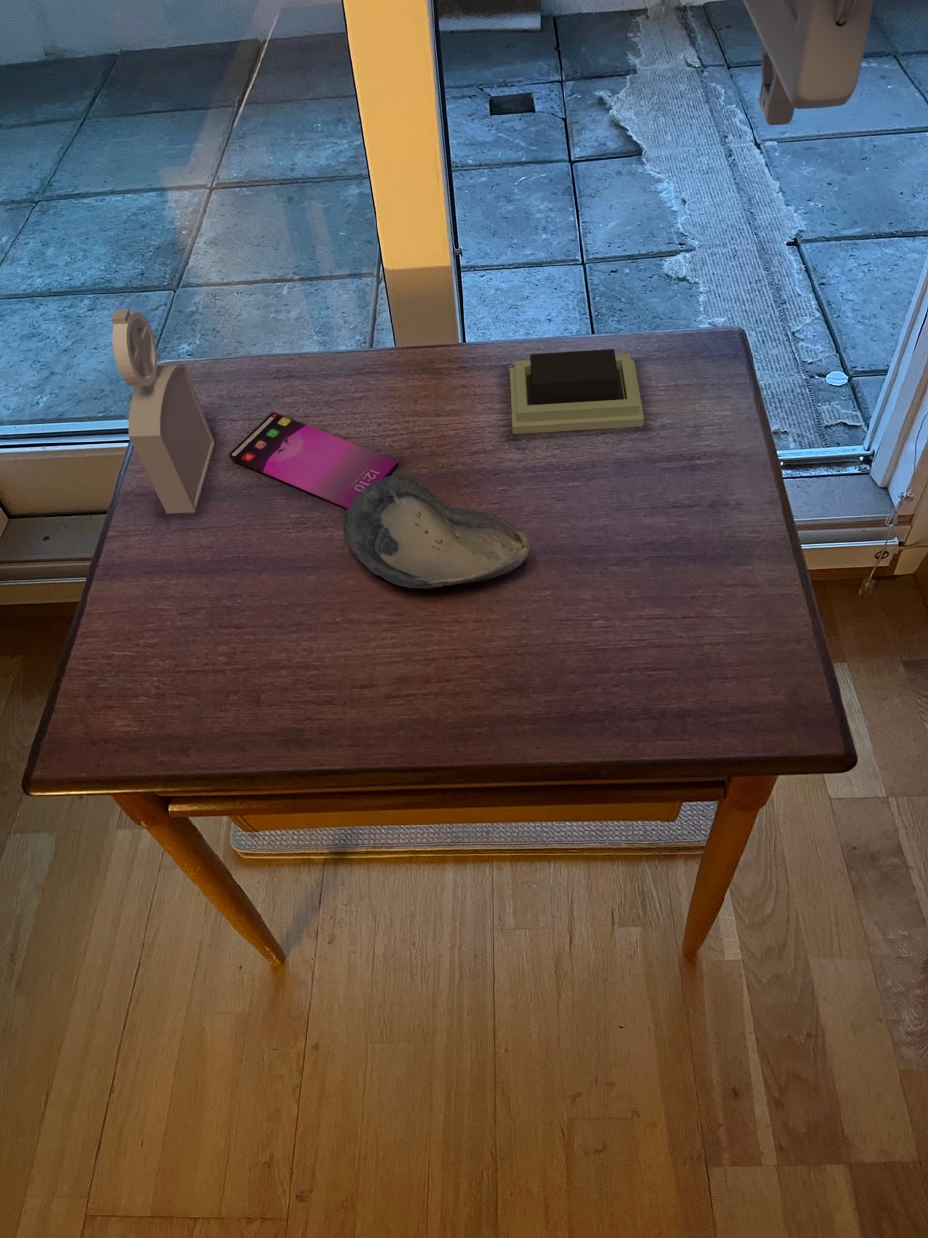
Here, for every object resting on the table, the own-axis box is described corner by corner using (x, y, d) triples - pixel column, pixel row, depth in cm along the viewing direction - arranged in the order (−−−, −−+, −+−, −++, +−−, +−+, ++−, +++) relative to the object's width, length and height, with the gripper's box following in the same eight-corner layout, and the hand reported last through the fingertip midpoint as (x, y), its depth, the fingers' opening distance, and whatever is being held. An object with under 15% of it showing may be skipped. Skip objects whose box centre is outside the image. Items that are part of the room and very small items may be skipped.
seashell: (515, 492, 83) (513, 451, 79) (535, 600, 75) (534, 560, 71) (347, 513, 83) (337, 473, 79) (350, 623, 75) (339, 584, 71)
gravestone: (215, 442, 90) (150, 279, 76) (195, 512, 84) (121, 350, 70) (188, 443, 90) (118, 280, 76) (166, 513, 85) (87, 351, 70)
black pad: (612, 373, 90) (614, 348, 87) (617, 403, 87) (618, 377, 85) (530, 379, 90) (530, 353, 88) (532, 408, 88) (532, 383, 85)
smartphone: (276, 417, 91) (273, 410, 91) (400, 463, 86) (399, 456, 85) (229, 462, 88) (227, 455, 87) (356, 514, 82) (354, 507, 82)
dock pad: (633, 367, 92) (634, 349, 90) (643, 426, 87) (645, 408, 85) (509, 375, 93) (509, 357, 91) (512, 434, 87) (511, 416, 86)
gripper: (926, -70, 48) (856, 186, 59) (832, -178, 60) (789, 51, 71) (804, -59, 48) (757, 194, 59) (735, -169, 61) (707, 58, 72)
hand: (774, 115), depth 66 cm, fingers closed
